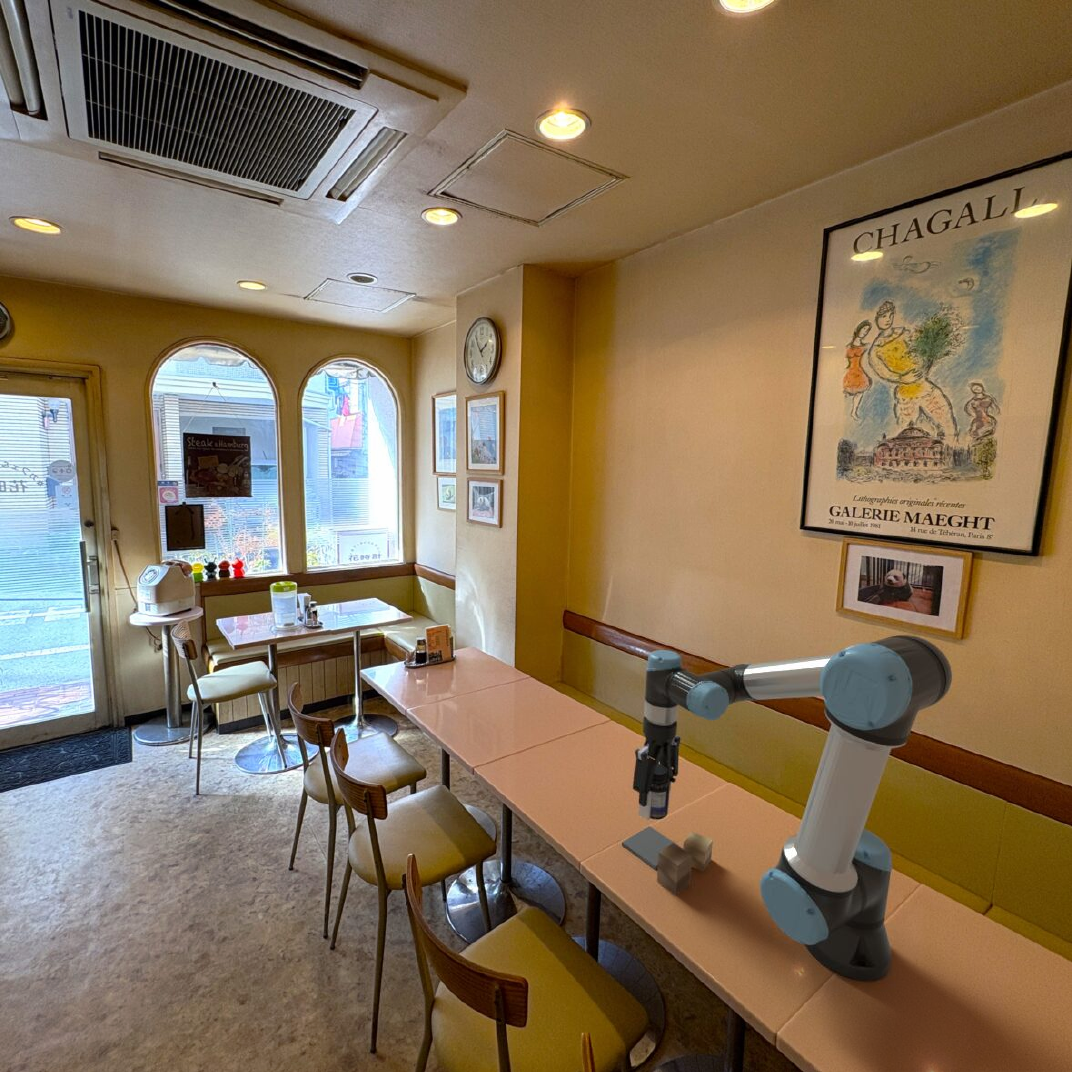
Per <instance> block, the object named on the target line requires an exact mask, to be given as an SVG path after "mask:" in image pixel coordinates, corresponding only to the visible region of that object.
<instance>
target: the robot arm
mask: <svg viewBox="0 0 1072 1072" xmlns="http://www.w3.org/2000/svg"><path fill="white" fill-rule="evenodd" d="M682 660H683V659H682V657H681V656H680V654H679V653H677V652H675V651H673V650H666V649H661V650H660V649H657V650H654V651H652V652H650V653H648V657H647V665H646V668H645V671H646V672H645V673H646V674H645V675H646V677H645V694H644V710H643V711H644V712H643V722H642V733H643V735H644V737H645V741H644V745H643V747H642V748H641V749H639V748H636V749H635V751H634V754H635V766H634V772H633V773H634V775H633V782H632V783H633V784H632V789H633V790H634V791H635V792H637V793H638V805H639V806H638V815H639V816H641V817H642V818H643V819H644V820H646V821H649V820H650V819H651V818H650V811H651V796H652V793H651V792H650V787H651V783H652V780H653V776H654V772H655V768H656V765H658V764H661V765H663V766H665V767H666V768H667V778H668V780H669V782H670V787H669V797H670V796H671V795H670V793H671V788H672V783H673V784H674V783H675V782H676V781H677V779H676V778H675V777H677V776H678V774H679V758H680V757H679V754H680V753H679V751H680V743H681V737H680V736H678V735H677V729H678V728H677V727H678V722H677V721H678V718H679V706H680V707H681V708H682V709H685V710H687V711H689V712H690V713H692V714H693V715H694V716H696V717H697V716H698V717H700V718H702V719H705V720H707V721H717V720H718V719H719V720H720V717H721V716H723V715H725V713H726V711H727V709H728V707H729V705H733V704H736V703H740V702H746V701H748V702H749V701H751V702H753V701H760V700H773V699H774V700H775V699H776V700H778V699H793V698H794V699H796V698H811V697H812V698H814V697H823V698H824V701H823V702H824V704H825V707H824V715H825V717H826V718H827V720H828V721H829V723H830V724H831V726H830V728H829V732H828V734H827V738H826V741H825V744H824V746H823V751H822V754H821V756H820V760H819V764H818V767H817V771H816V773H815V777H814V780H813V784H812V786H811V789H810V793H809V796H808V799H807V803H806V806H805V810H804V811H803V816H802V818H801V822H800V826H799V828H798V832H797V834H792V835H791V836H789V837H787V839H786V840H785V841H784V844H783V846H782V849H781V853H780V856H779V860H778V862H777V864H776V866H774V867H773V868H771V867H770V868H769V869H768V870H766V872H765V873H763V875H762V877H761V879H760V883H759V887H760V895H761V899H762V902H763V904H764V905H765V907H766V911H767V912H768V914H769V916H770V917H771V919H772V920H773V922H774V923H775V924H776V925H777V927H778V928H780V930H781V931H782V932H783V933H784V934H785V935H787V937H789V938H791V939H792V940H793V941H795V942H797V943H799V944H803V945H805V947H806V949H807V950H808V951H809V952H810V954H811V955H812V956H813V957H814V958H816V960H817V961H818V962H819V963H820V964H822V965H823V966H825V967H827V968H828V969H830V970H831V971H833V972H835V973H836V974H839V975H841V976H844V977H846V978H849V979H852V980H856V981H862V982H873V981H878V980H880V979H883V978H884V977H886V975H887V974H888V973H889V971H890V969H891V962H892V950H891V946H890V942H889V941H890V940H889V938H888V933H887V929H886V925H885V917H886V910H887V902H888V896H889V888H890V881H891V873H892V871H893V866H892V860H893V859H892V858H893V856H892V852H891V849H890V848H889V847H888V845H887V843H885V841H884V840H883V839H881V838H880V837H879V836H878V835H876V834H875V833H873V832H871V831H870V830H867V829H865V826H866V823H867V820H868V817H869V815H870V811H871V808H872V805H873V803H874V799H875V798H876V797H875V796H876V794H877V791H878V787H879V786H880V783H881V780H882V776H883V773H884V771H885V768H886V766H887V763H888V759H889V758H890V757H889V756H890V754H891V751H892V749H896V748H900V747H903V746H905V745H906V744H907V741H908V740H909V737H910V735H911V731H912V728H913V725H914V724H915V723H914V722H915V720H916V718H917V715H918V713H920V711H922V710H924V709H928V708H930V707H932V706H933V705H936V704H937V703H939V702H940V701H941V700H942V699H944V698H945V696H946V695H947V694H948V693H949V690H950V688H951V685H952V683H953V681H952V680H953V673H952V668H951V667H952V666H951V665H950V662H949V659H948V658H947V656H946V655H945V653H944V652H943V651H942V650H941V649H940V648H939V647H938V646H936V645H935V644H934V643H932V642H930V641H929V640H927V639H924V638H922V637H920V636H916V635H912V634H911V635H910V634H897V635H892V636H888V637H886V638H885V637H884V638H881V639H879V640H875V641H871V642H865V643H863V642H862V643H858V644H853V645H850V646H848V647H846V648H844V649H842V650H840V651H839V652H836V653H830V654H822V655H815V656H814V655H813V656H807V657H800V658H790V659H782V660H773V661H766V662H758V663H740V664H735V665H733V666H730V667H726V668H723V669H717V670H714V671H710V672H709V671H708V672H706V673H702V674H696V673H694V672H691V671H689V670H687V669H684V668H683V667H682V666H683V662H682ZM669 805H670V800H669V801H668V809H669V808H670V807H669Z"/></svg>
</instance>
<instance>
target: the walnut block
mask: <svg viewBox="0 0 1072 1072" xmlns="http://www.w3.org/2000/svg"><path fill="white" fill-rule="evenodd" d="M674 843H675V842H674ZM674 843H672V844H671V845H669V846H668V847H666V848H664V849H663V850H661V851H660V852H659V856H658V868H657V873H656V874H657V875H656V883H658V884H660V885H661V886H662V887H664V888H665V889H666V890H667V891H670V893H672V894H673V895H674V896H677V895H678V894H680V893H681V892H682V891H683V890H685V889H687V888H688V887H689V886H690V885H691V875H692V866H691V863H692V855H691V854H689V853H688V852H686V851H685V850H683V849H682V848H683V847H682V848H680V847H681V846H680V845H679V846H680V847H679V846H677V845H678V844H677V843H676V844H677V845H676V844H674Z"/></svg>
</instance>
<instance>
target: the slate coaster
mask: <svg viewBox="0 0 1072 1072" xmlns="http://www.w3.org/2000/svg"><path fill="white" fill-rule="evenodd" d="M672 843H674V844H676V845H677V846H679V847H680V848H682V849H683V847H682V846H680V845H679V844H677V843H676V842H674V841H673V840H671V839H670V838H669V837H667V836H665V835H663V834H662V833H661V832H660V831H658V830H656V829H654V828H653V827H652V826H650V825H649V826H647V827H645V828H643V829H642V830H640V831H639V832H637V833H635V834H633V835H632V836H630V837H628V838H627V839H625V840H623V841H622V842H621V846H622V847H624V849H626V850H628V851H629V852H630V853H631V854H633V855H634V856H636V857H637V858H639V859H640V860H641V861H642V862H644V863H645V864H647V866H650V867H651V868H652V869H654V870H658V856H659V852H660V851H661V850H663V849H664V848H666V847H668V846H669V845H671V844H672Z"/></svg>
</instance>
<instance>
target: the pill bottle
mask: <svg viewBox="0 0 1072 1072" xmlns="http://www.w3.org/2000/svg"><path fill="white" fill-rule="evenodd" d="M669 787H670V782H669V780H668V778H667V768H666V767H665V766H663V765H661V764H660V763H659V764H658V765H656V768H655V772H654V776H653V780H652V783H651V787H650V792H651V793H652V796H651V811H650V819H651V820H656V821H657V820H658V821H659V820H662V819H663V820H664V818H666V817H667V815H668V813H669V808H668V801H669V802H670V796H669Z"/></svg>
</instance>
